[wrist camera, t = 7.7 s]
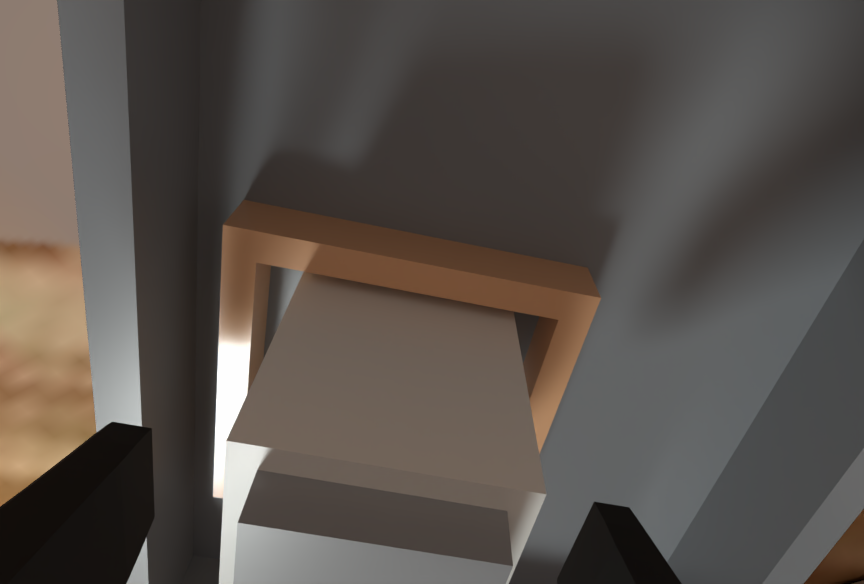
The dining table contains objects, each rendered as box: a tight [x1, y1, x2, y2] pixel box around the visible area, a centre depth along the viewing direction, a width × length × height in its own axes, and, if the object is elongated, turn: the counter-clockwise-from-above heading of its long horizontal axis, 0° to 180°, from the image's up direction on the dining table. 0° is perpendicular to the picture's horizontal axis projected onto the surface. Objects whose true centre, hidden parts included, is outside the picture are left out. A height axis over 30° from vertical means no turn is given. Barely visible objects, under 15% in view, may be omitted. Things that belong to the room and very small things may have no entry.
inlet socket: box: [213, 200, 601, 498], centre depth 13 cm, size 7×7×1 cm
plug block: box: [219, 272, 547, 584], centre depth 10 cm, size 4×4×6 cm
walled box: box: [57, 0, 864, 584], centre depth 12 cm, size 14×18×3 cm
